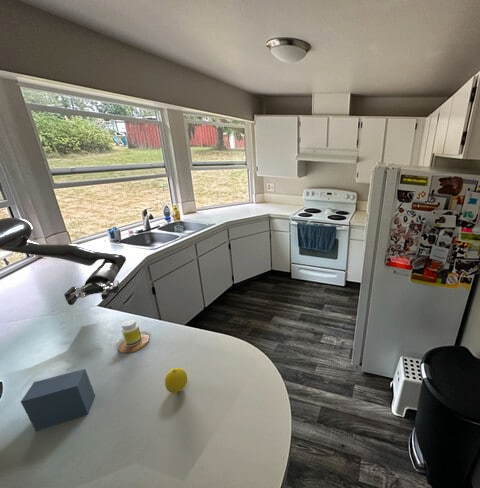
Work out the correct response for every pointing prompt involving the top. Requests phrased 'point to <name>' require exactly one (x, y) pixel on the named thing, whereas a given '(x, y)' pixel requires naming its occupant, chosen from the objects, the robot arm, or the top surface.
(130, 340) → the supplement bottle
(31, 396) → the dark gray rectangular block
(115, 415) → the top surface
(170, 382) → the lemon
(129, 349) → the coaster
